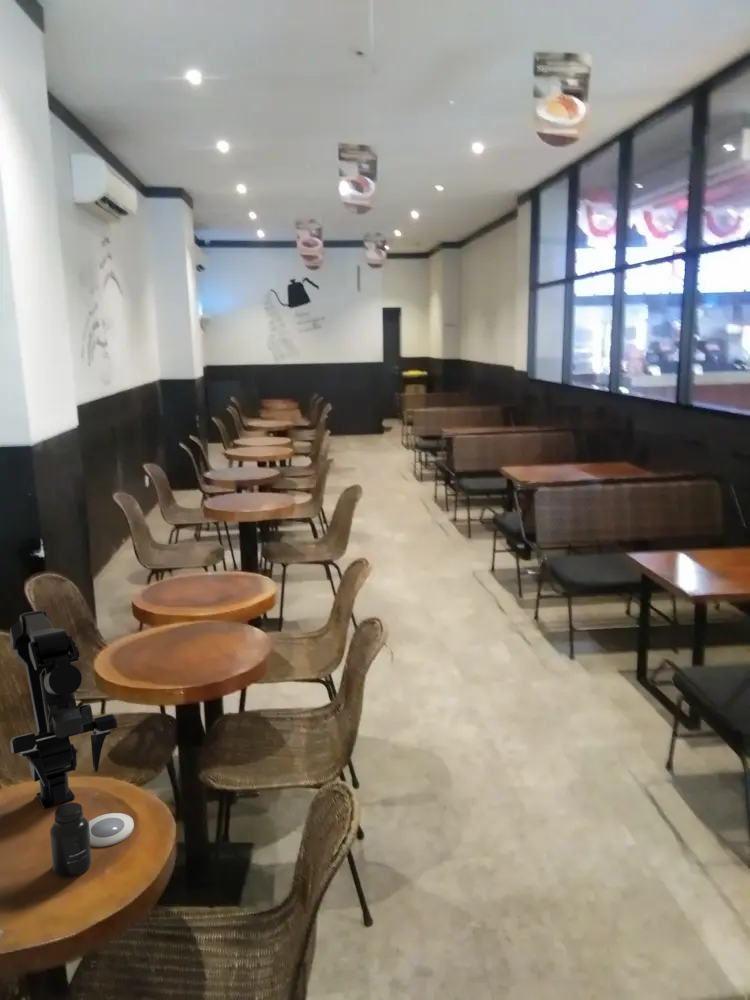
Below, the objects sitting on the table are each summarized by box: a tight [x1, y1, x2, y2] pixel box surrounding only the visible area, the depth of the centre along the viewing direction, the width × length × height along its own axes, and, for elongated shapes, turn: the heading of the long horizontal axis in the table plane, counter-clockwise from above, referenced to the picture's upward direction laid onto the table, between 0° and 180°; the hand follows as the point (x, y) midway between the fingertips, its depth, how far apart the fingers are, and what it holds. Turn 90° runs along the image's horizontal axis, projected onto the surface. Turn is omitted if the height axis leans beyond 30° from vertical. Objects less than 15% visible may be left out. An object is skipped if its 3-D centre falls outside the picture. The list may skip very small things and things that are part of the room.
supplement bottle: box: [49, 801, 92, 879], centre depth 145 cm, size 7×7×12 cm
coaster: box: [88, 812, 135, 848], centre depth 157 cm, size 10×10×1 cm
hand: (71, 778), depth 149 cm, fingers open, 9 cm apart
